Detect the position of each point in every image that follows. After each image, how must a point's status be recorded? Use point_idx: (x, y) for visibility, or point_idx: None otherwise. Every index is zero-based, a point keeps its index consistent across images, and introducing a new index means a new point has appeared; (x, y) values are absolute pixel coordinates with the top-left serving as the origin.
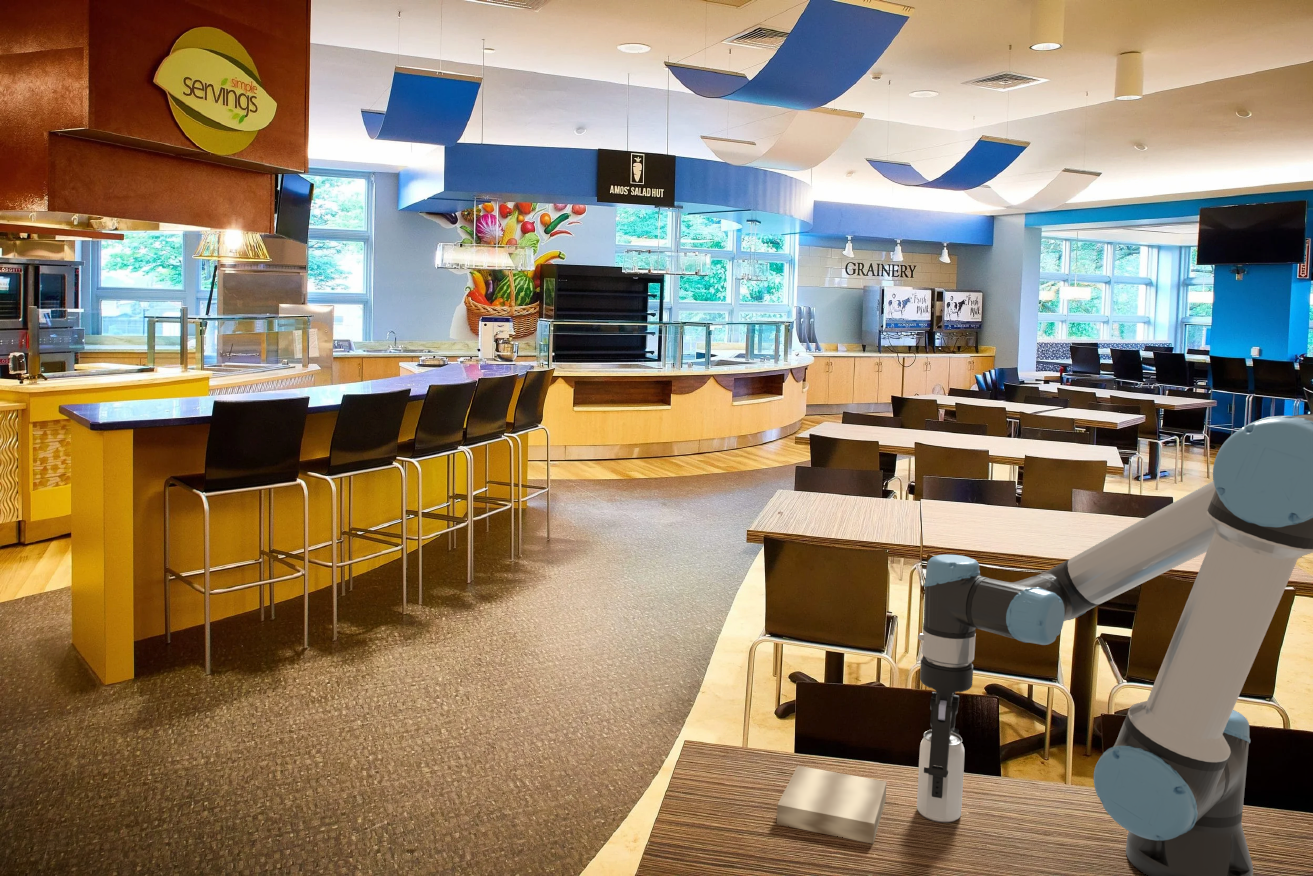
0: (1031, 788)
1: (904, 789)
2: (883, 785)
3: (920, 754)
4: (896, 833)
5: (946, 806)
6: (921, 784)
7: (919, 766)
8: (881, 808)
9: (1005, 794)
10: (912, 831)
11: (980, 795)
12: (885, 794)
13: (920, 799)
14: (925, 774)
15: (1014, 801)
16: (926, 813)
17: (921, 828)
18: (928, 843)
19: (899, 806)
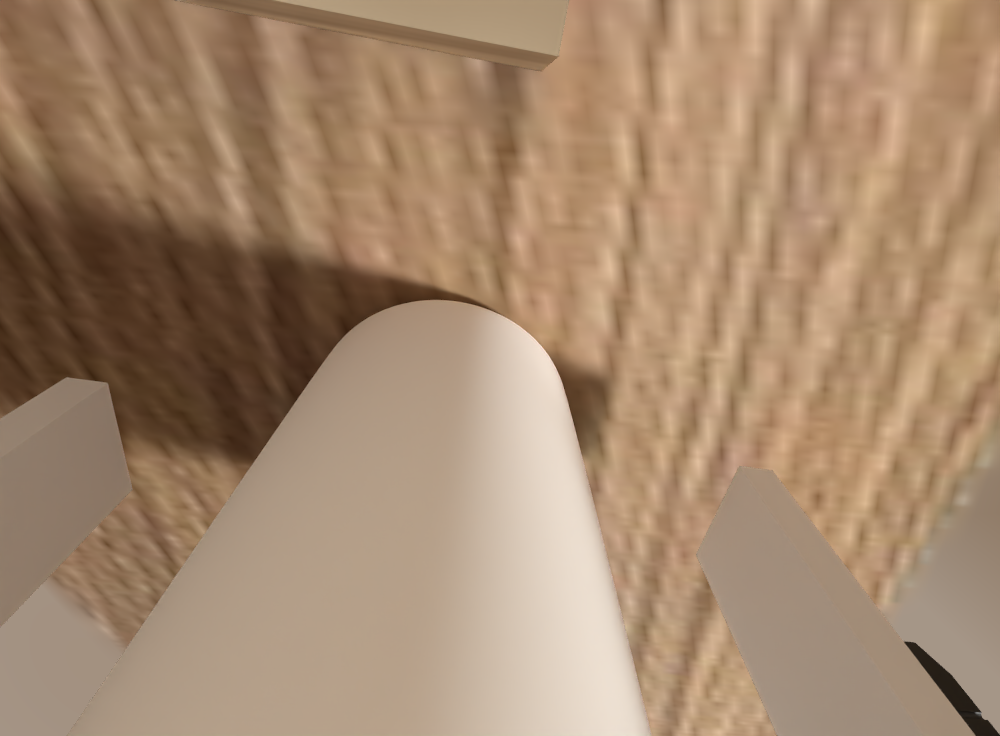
0: (757, 725)
1: (735, 232)
2: (453, 10)
3: (220, 716)
4: (53, 134)
5: (78, 544)
6: (305, 421)
7: (318, 517)
8: (219, 2)
9: (700, 659)
10: (147, 248)
11: (683, 586)
12: (504, 57)
13: (350, 351)
14: (205, 539)
15: (640, 675)
16: (56, 385)
17: (216, 305)
18: (54, 330)
19: (468, 180)
